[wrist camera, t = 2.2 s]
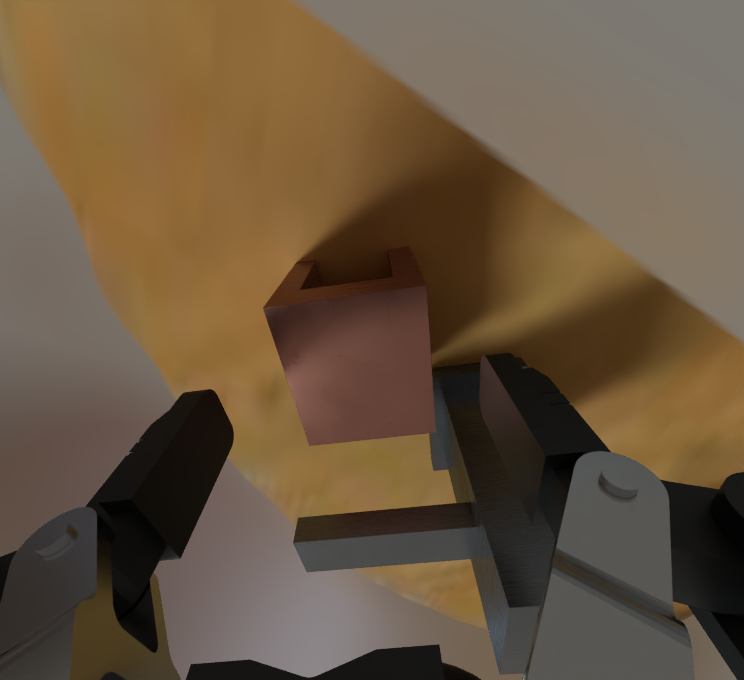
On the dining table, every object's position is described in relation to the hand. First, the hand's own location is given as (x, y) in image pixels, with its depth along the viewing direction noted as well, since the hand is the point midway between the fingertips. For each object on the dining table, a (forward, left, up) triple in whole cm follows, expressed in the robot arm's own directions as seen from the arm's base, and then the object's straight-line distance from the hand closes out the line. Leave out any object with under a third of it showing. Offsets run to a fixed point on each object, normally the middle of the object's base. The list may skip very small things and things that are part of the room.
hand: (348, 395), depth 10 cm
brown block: (0, 0, -6) cm, 6 cm away
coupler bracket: (-2, +7, -6) cm, 10 cm away
